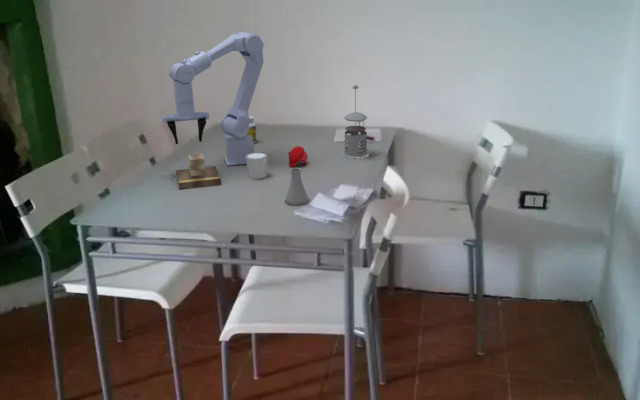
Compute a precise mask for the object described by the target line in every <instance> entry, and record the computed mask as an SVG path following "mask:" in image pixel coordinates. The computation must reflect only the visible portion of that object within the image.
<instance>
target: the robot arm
mask: <svg viewBox="0 0 640 400" xmlns="http://www.w3.org/2000/svg"><path fill="white" fill-rule="evenodd" d="M264 46H265V44H264V42H263V40H262V39H261V37H260V35H258V34H256V33H251V32H250V33H249V32H245V31H243V30H241V31H240V30H239V31H237V32H235V33H233V34H231V35H229V36H228V37H227V38H226V39H224V40H223V41H222V42H220V43H218V44H216V45H215V46H214V47H212V48H211V49H209V50H208V51H203V50H200V51H199V50H196V51H195V52H194V55H192V56H190V57H188V58H185V59H182V62H177V63H175V64H173V65H172V66H171V67H170V71H169V72H168V74H169V77H170V79H171V80H172V81H173V91H174V100H175V109H176V113H175V114H170V115H163V116H162V121H163V124H167V126H168V129H170V132H171V133H172V136H173V139H174V143H175V145H178V144H179V139H178V136H177V126H176V125H177V124H176V122H188V121H197V128H198V129H197V130H198V132H197V133H198V141H199V143H200V142H203V141H202V139H203V133H204V129H205V127H206V126H207V125H206V124H207V120H210V115H209V112H208V111H205V112H200V111H199V112H197V111H196V112H195V105H194V104H195V103H194V94H193V93H194V92H193V80H194V79H195V76H198V75H199V74H201V73H203V72H204V71H206V70H208V69H209V68H211V66H212V63H213V61H215V60H217V59H219V58H221V57H223V56H225V55H227V54H229V53H231V52H238V53H240V55H241V56H242V58H243V60H244V61H245V66H244V69H243V72H242V75H241V78H240V82H239V84H238V89H237V91H236V94H235V96H234V97H235V98H234V101H233V104H232V106H231V108H229V109H228V110H227V111H226V114H225V116H224V117H223V118H222V120H221V122H220V128H221V131H222V132H224V138H225V140H224V141H225V151H226V157H224V160H225V163H226V165H227V166H228V167H229V166H236V165H237V166H238V165H247V161H246V155H248V154H251V153H255V148H254V143H253V139H252V136H247V134H248V132H249V121H250V117H249V116H250V115H249V109H250V106H251V103H252V99H253V96H254V93H255V90H256V87H257V84H258V80H259V77H260V74H261V71H262V69H263V64H264V52H263V49H264Z"/></svg>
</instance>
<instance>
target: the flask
mask: <svg viewBox="0 0 640 400" xmlns="http://www.w3.org/2000/svg"><path fill="white" fill-rule="evenodd" d="M289 171H290V173H291V174H290V175H291V176H290V183H289V187H288V189H287V192H286V196H285V199H284V202H285V203H286V204H287V205H289V206H291V205H293V206H301V205H305V204H308V202H309V200H310V198H309V196H308V194H307V192H306V190H305V187H304V184H303V181H302V177H301V172H302V169H301V167H293V168H291V167H290V170H289Z"/></svg>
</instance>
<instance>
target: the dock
mask: <svg viewBox="0 0 640 400" xmlns="http://www.w3.org/2000/svg"><path fill="white" fill-rule="evenodd" d="M175 174H176V179H177V184H178V189H179V190H184V189H192V188H193V189H194V188H195V189H196V188H201V187H202V188H203V187H210V186H211V187H212V186H213V187H214V186H221V185H222V179H221V176H220V174H219V171H218V169H217V166H216V165H214V166H205V174H206V177H197V178H191V175H190V168H186V169H177V170H175Z"/></svg>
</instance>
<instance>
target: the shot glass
mask: <svg viewBox="0 0 640 400" xmlns="http://www.w3.org/2000/svg"><path fill="white" fill-rule="evenodd" d="M246 161H247V164H246V166H247V172H248V177H249V178H250V179H252V180H258V179H260V180H261V179H264V178H267V177H266V176H267V165H268V163H267V162H268V155H267V154H266V153H263V152H254V153H251V154H248V155H246Z"/></svg>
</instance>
